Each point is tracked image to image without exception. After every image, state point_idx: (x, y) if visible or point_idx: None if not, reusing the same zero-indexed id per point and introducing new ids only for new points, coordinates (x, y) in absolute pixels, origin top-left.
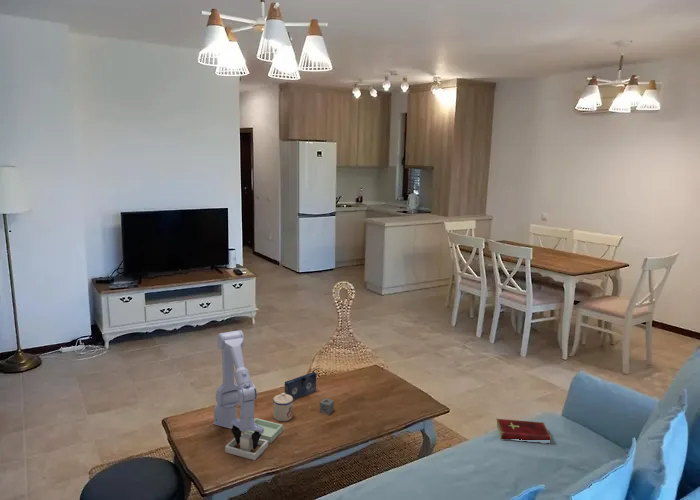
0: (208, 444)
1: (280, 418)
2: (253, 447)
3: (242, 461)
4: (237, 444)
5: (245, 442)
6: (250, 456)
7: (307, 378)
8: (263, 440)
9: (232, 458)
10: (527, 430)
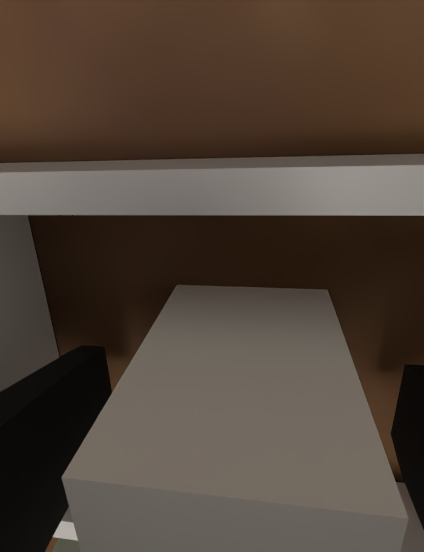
0: None
1: None
2: (77, 357)
3: (124, 41)
4: (420, 365)
5: (201, 395)
6: (26, 165)
7: None
8: (71, 526)
9: (343, 30)
10: None
